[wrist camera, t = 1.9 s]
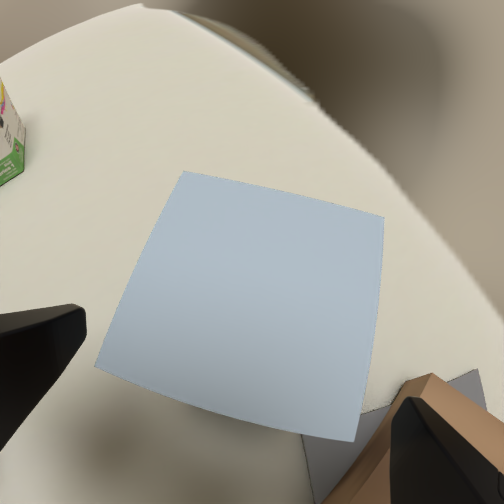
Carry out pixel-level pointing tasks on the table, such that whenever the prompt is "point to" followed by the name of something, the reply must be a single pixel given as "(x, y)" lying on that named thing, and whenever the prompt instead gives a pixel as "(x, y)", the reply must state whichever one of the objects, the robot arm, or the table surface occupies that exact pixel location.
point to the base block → (378, 448)
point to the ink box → (10, 138)
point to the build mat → (363, 441)
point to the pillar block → (253, 307)
